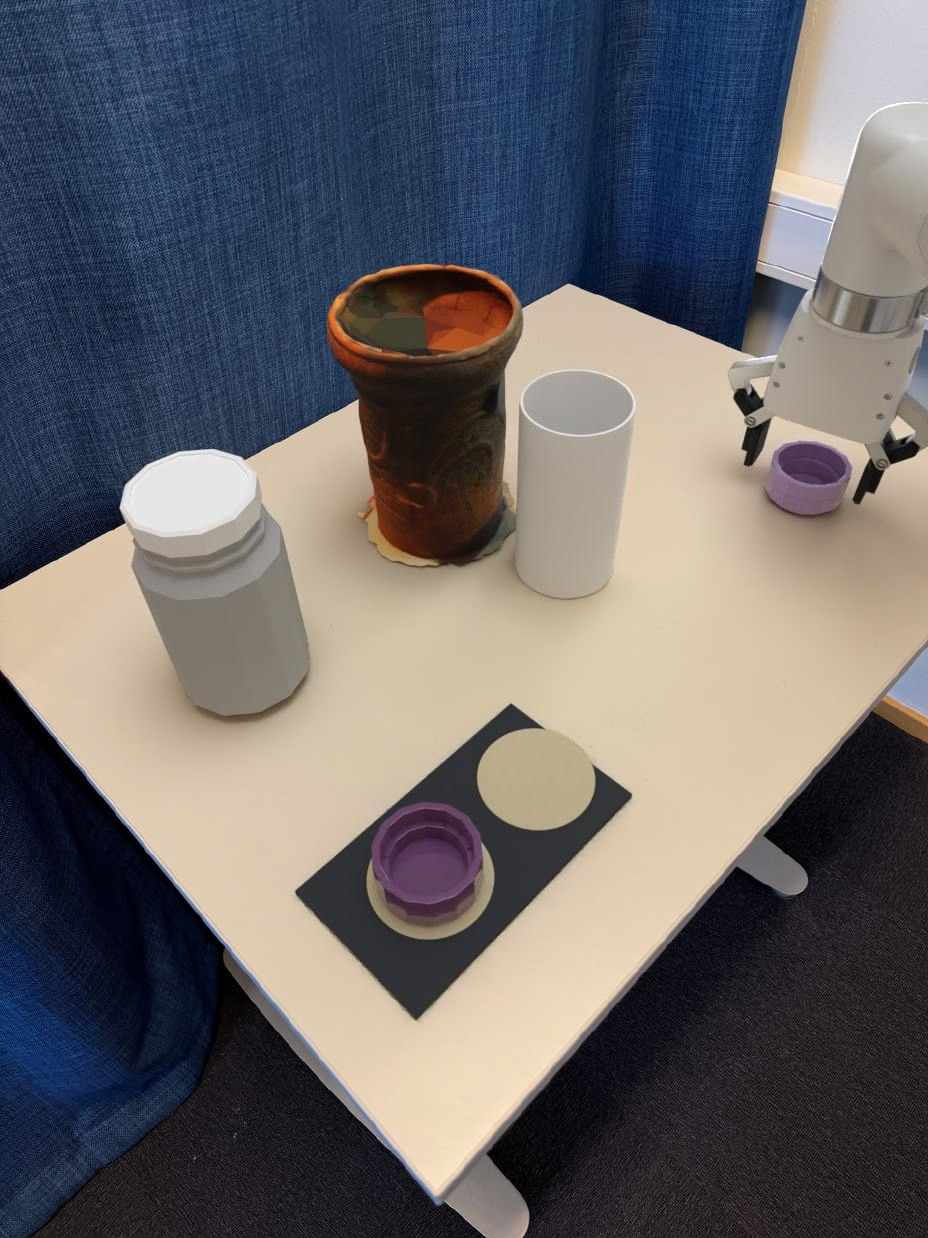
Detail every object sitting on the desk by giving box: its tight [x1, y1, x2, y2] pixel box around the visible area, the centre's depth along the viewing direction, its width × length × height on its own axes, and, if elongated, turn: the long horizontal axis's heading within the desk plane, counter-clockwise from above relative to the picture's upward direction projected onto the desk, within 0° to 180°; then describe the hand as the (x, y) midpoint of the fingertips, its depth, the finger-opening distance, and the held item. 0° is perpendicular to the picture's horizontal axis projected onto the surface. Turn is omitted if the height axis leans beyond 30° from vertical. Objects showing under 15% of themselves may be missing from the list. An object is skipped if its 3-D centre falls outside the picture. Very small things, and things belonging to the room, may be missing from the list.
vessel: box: [326, 263, 524, 567], centre depth 73 cm, size 14×14×20 cm
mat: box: [294, 702, 633, 1021], centre depth 59 cm, size 20×11×1 cm, turn 136°
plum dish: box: [372, 802, 483, 925], centre depth 55 cm, size 7×7×3 cm
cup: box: [514, 368, 637, 600], centre depth 70 cm, size 8×8×16 cm
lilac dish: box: [764, 439, 853, 516], centre depth 80 cm, size 7×7×3 cm
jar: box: [119, 448, 310, 717], centre depth 62 cm, size 10×10×18 cm
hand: (805, 475), depth 80 cm, fingers open, 9 cm apart
